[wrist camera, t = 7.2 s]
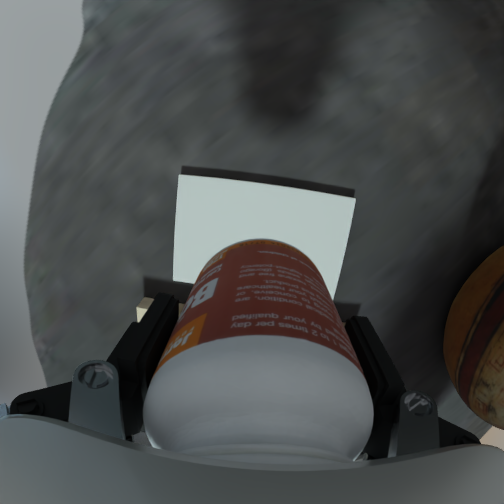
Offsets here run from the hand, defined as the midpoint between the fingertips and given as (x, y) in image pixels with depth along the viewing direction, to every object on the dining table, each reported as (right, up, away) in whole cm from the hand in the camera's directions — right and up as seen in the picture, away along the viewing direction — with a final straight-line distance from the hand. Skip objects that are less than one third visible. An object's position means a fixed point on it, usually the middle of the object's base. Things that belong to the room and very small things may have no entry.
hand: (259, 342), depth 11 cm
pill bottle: (0, +1, +4) cm, 4 cm away
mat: (0, +4, +13) cm, 14 cm away
